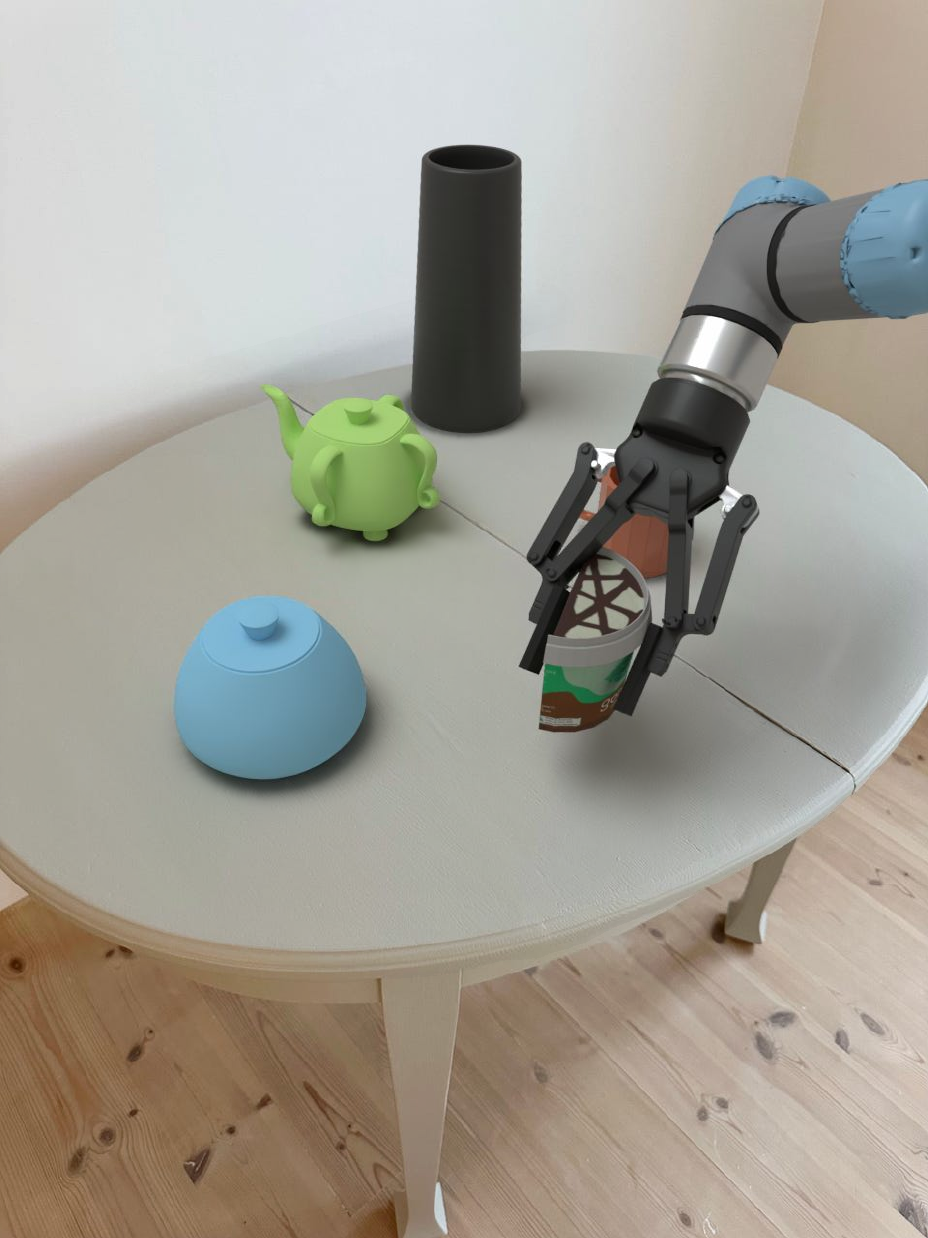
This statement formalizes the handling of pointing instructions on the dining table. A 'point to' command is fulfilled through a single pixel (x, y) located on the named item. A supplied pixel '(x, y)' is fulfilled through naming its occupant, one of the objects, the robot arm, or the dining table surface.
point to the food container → (594, 644)
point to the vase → (468, 289)
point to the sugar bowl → (268, 690)
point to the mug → (635, 535)
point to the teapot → (358, 463)
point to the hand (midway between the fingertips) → (574, 690)
